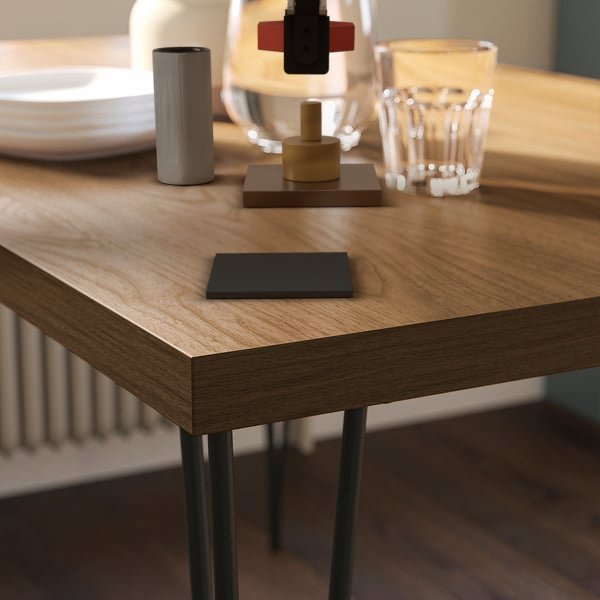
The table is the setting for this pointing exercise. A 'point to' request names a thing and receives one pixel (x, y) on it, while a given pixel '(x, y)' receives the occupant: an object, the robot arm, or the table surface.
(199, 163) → the planter
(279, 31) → the ring
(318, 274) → the mat
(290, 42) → the robot arm
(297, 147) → the ring holder
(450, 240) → the table surface
